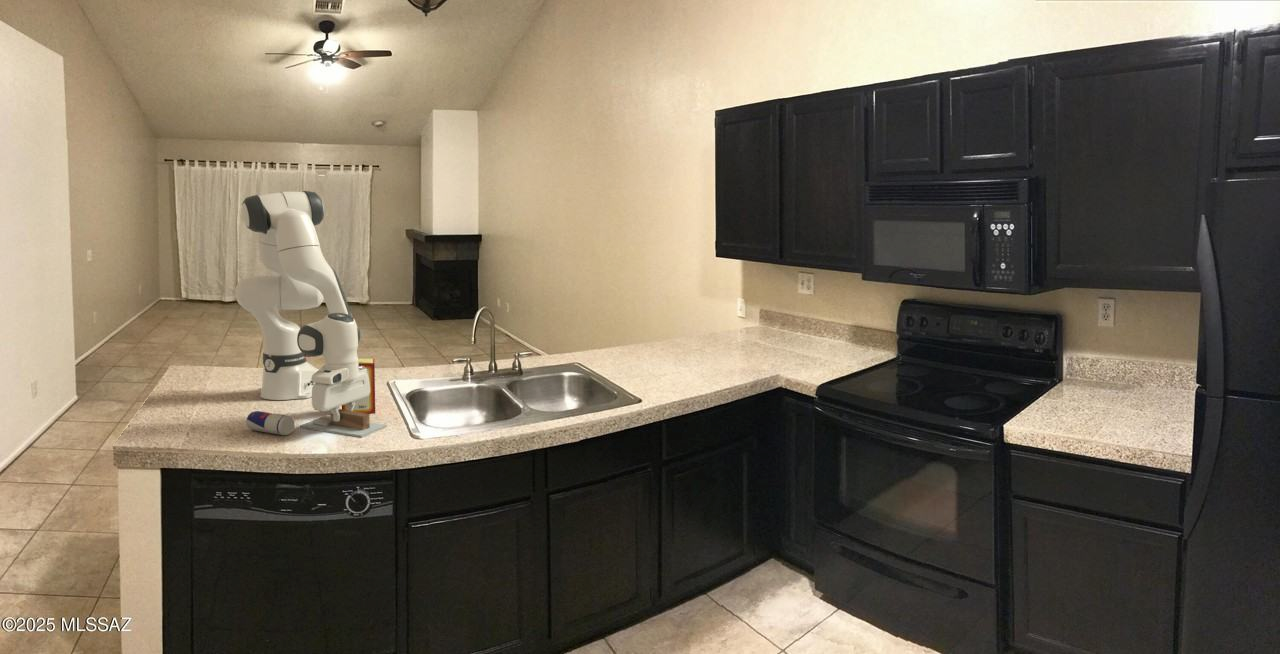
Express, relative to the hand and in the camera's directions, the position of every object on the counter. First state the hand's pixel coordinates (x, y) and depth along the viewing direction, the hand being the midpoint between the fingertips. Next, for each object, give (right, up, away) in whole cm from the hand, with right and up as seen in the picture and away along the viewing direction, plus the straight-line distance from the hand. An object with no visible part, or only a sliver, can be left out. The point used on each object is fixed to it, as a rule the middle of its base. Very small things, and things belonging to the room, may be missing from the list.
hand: (343, 418), depth 217 cm
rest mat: (0, -3, 0) cm, 3 cm away
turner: (0, -2, 0) cm, 2 cm away
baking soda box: (-2, 0, +17) cm, 17 cm away
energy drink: (-11, -1, -9) cm, 15 cm away
